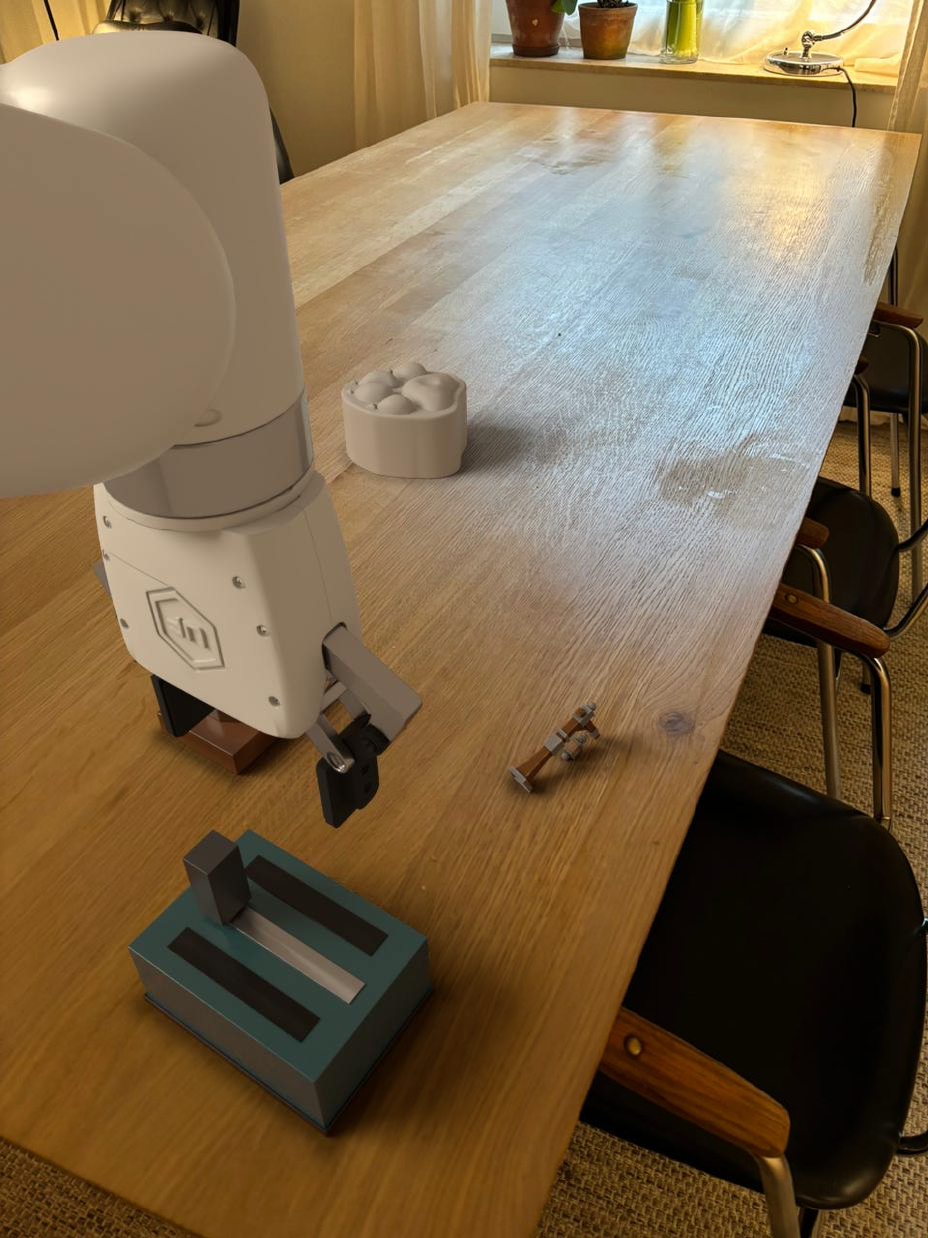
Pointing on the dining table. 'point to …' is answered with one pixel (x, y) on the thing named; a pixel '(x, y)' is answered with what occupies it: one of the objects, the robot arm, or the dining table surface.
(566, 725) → the wooden post with brackets
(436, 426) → the lumpy-topped squat cylinder
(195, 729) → the control block
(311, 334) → the dining table surface
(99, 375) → the robot arm
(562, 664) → the dining table surface
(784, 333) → the dining table surface
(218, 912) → the slider
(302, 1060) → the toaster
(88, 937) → the dining table surface
